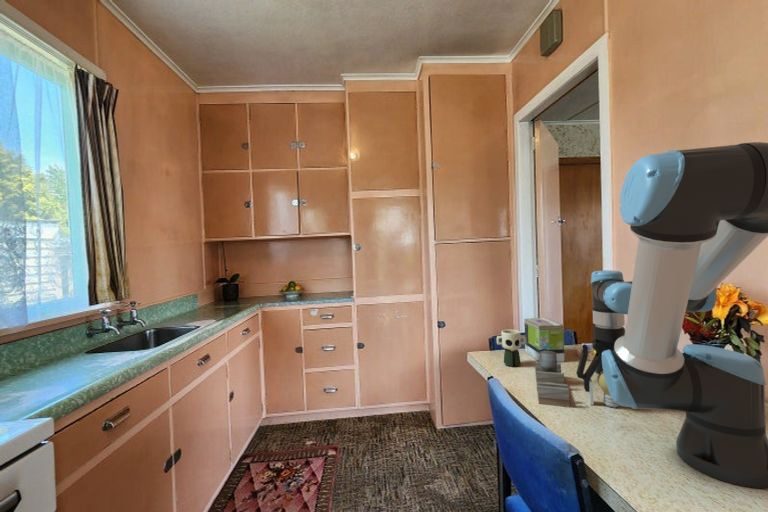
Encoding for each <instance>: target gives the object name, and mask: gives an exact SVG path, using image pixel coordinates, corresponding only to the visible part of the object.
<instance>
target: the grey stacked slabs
mask: <svg viewBox="0 0 768 512" xmlns="http://www.w3.org/2000/svg"><path fill="white" fill-rule="evenodd" d="M561 365H562V364H561V362H557V354H556V352H553V351H541V352H540V362H539V361H534V367H535V368H534V369H535V382H536V391H537V392H536V393H537V399H538V401H537V402H538V405H547V406H556V407H565V408H566V407H567V408H570V407H571V406H570V390H569V389H570V388H569V386H568V384H567V383H566V384H565V374H564V372H562V366H561Z"/></svg>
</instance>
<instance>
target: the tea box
mask: <svg viewBox="0 0 768 512" xmlns="http://www.w3.org/2000/svg"><path fill="white" fill-rule="evenodd" d="M523 321H524V336H525V337H526V344H524V348H525V352H526V353H527V354H528V355H530V356H531V357H532V358H534V360H537V362H540V352H541V351H553V352H556V354H557V363H563V362H565V337H564V336H565V333H564V332H565V329H564V324H562V323H559V322H558V321H555V320H553V319H550V318H547V317H537V318H536V317H535V318H534V317H532V318H531V317H530V318H524V320H523Z"/></svg>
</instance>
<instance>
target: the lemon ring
mask: <svg viewBox="0 0 768 512" xmlns="http://www.w3.org/2000/svg"><path fill="white" fill-rule="evenodd" d="M590 352H594V348H591V350H590ZM590 352H589V353H588V357H587V361H591V362H592V360H593V359H594V356H595V355H594V354H590ZM576 353H577V355H578V358H580V357H581V353H582V347H577V348H576Z"/></svg>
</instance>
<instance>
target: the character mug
mask: <svg viewBox="0 0 768 512" xmlns="http://www.w3.org/2000/svg"><path fill="white" fill-rule="evenodd" d="M500 339H501V341H500ZM525 344H526V337H525V335H521V331H520V330H517V329H502V330H501V335H497V336H496V345H498V346H499V345H501V347H502V348H503V349H504V351H503V352H504V354H503V363H504V365H506V366H510V367H513V366H514V365H515V367H518V366H520V365H521V364H522V363H521V356H520V351H519V349H521V347H522V345H525Z"/></svg>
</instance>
